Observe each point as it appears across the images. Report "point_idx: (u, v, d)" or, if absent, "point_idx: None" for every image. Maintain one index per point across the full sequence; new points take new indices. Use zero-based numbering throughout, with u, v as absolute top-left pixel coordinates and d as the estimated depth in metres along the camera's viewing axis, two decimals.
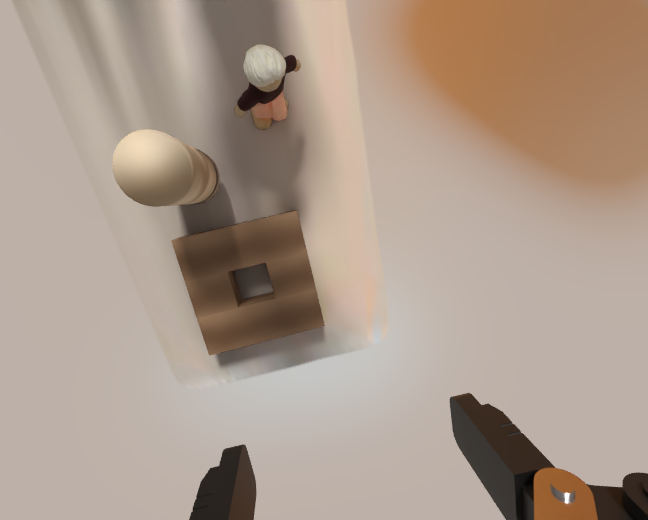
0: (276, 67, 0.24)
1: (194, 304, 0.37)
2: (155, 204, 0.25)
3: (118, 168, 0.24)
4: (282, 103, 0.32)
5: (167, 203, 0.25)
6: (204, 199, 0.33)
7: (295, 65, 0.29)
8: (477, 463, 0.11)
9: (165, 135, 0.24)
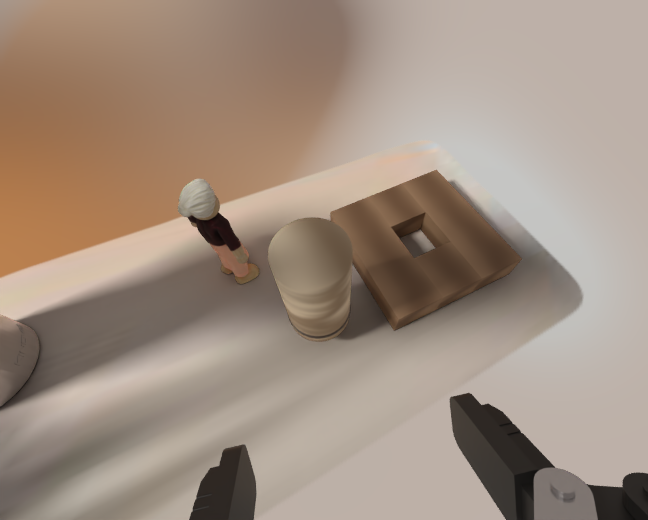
0: (196, 180, 0.26)
1: (466, 283, 0.30)
2: (349, 243, 0.21)
3: (317, 282, 0.20)
4: None
5: (344, 233, 0.22)
6: None
7: None
8: (477, 463, 0.11)
9: (271, 244, 0.22)
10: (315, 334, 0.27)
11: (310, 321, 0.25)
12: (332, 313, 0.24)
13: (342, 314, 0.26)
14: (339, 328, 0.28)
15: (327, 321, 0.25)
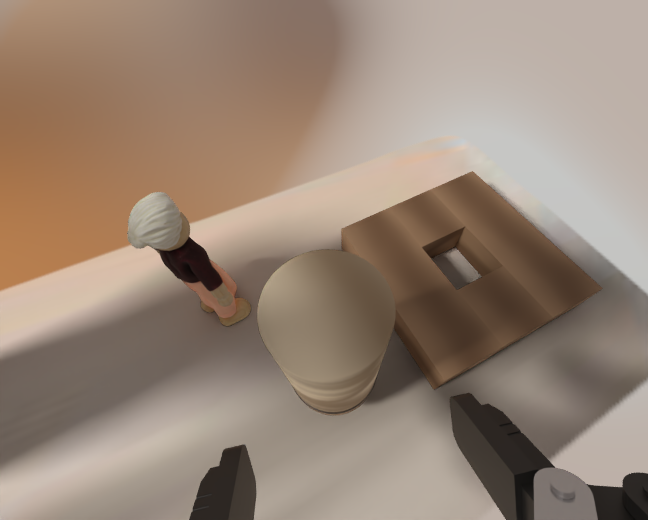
0: (153, 194, 0.18)
1: (532, 325, 0.22)
2: (387, 291, 0.13)
3: (341, 364, 0.12)
4: None
5: (379, 274, 0.14)
6: None
7: None
8: (477, 463, 0.11)
9: (263, 296, 0.14)
10: (330, 411, 0.19)
11: (324, 402, 0.16)
12: (358, 391, 0.16)
13: (370, 385, 0.18)
14: (364, 399, 0.19)
15: (350, 400, 0.17)
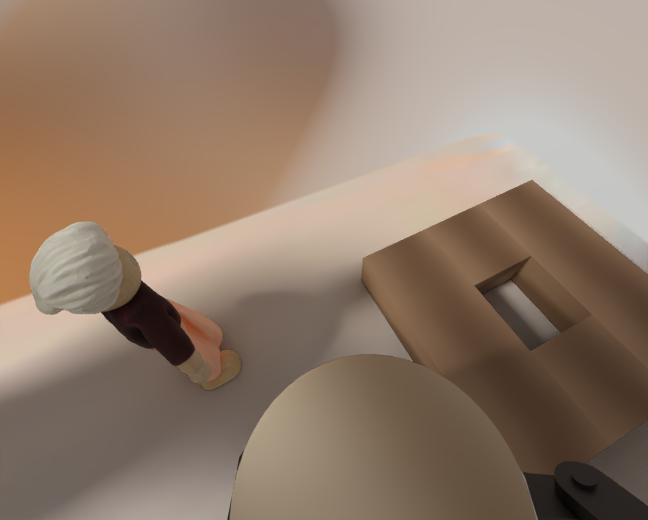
0: (74, 226, 0.11)
1: None
2: (510, 466, 0.06)
3: None
4: (185, 307, 0.18)
5: (483, 418, 0.07)
6: None
7: None
8: None
9: (244, 469, 0.06)
10: None
11: None
12: None
13: None
14: None
15: None
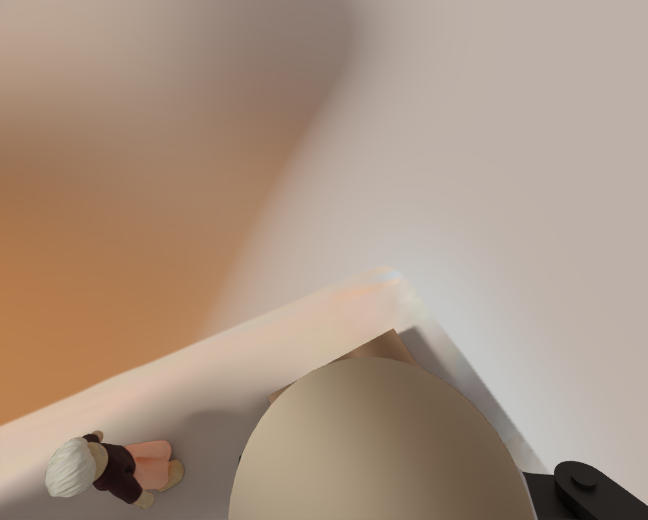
0: (68, 447, 0.20)
1: None
2: (509, 470, 0.06)
3: None
4: (141, 444, 0.27)
5: (482, 422, 0.07)
6: None
7: (90, 434, 0.25)
8: None
9: (242, 473, 0.06)
10: None
11: None
12: None
13: None
14: None
15: None
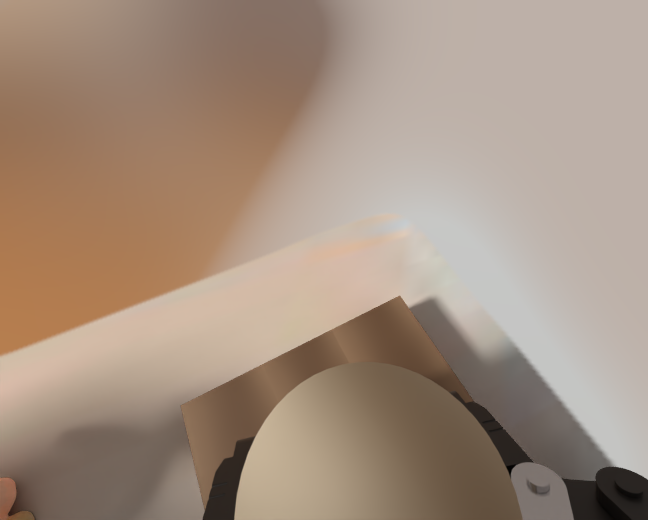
0: None
1: None
2: (498, 468, 0.07)
3: None
4: None
5: (474, 423, 0.07)
6: None
7: None
8: None
9: (248, 471, 0.07)
10: None
11: None
12: None
13: None
14: None
15: None
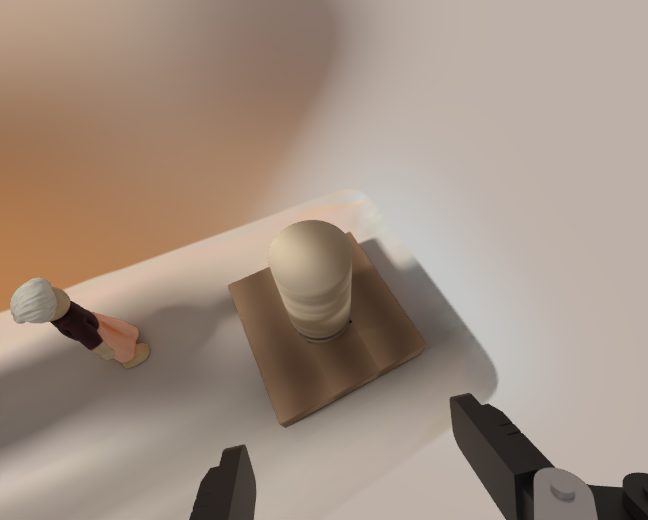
0: (32, 281, 0.23)
1: (361, 376, 0.27)
2: (348, 244, 0.22)
3: (318, 284, 0.20)
4: (108, 317, 0.30)
5: (343, 234, 0.22)
6: None
7: None
8: (477, 463, 0.11)
9: (271, 247, 0.22)
10: (316, 336, 0.27)
11: (311, 323, 0.25)
12: (333, 314, 0.24)
13: (343, 315, 0.26)
14: (340, 329, 0.28)
15: (328, 323, 0.25)
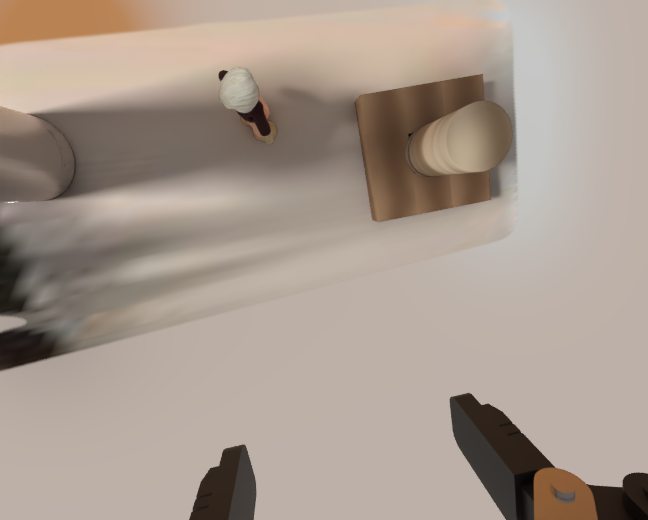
0: (242, 73, 0.25)
1: (439, 208, 0.39)
2: (510, 139, 0.27)
3: (476, 167, 0.27)
4: (258, 97, 0.33)
5: (510, 128, 0.27)
6: None
7: (228, 71, 0.30)
8: (477, 463, 0.11)
9: (454, 120, 0.26)
10: (426, 174, 0.36)
11: (436, 172, 0.33)
12: None
13: None
14: None
15: None
